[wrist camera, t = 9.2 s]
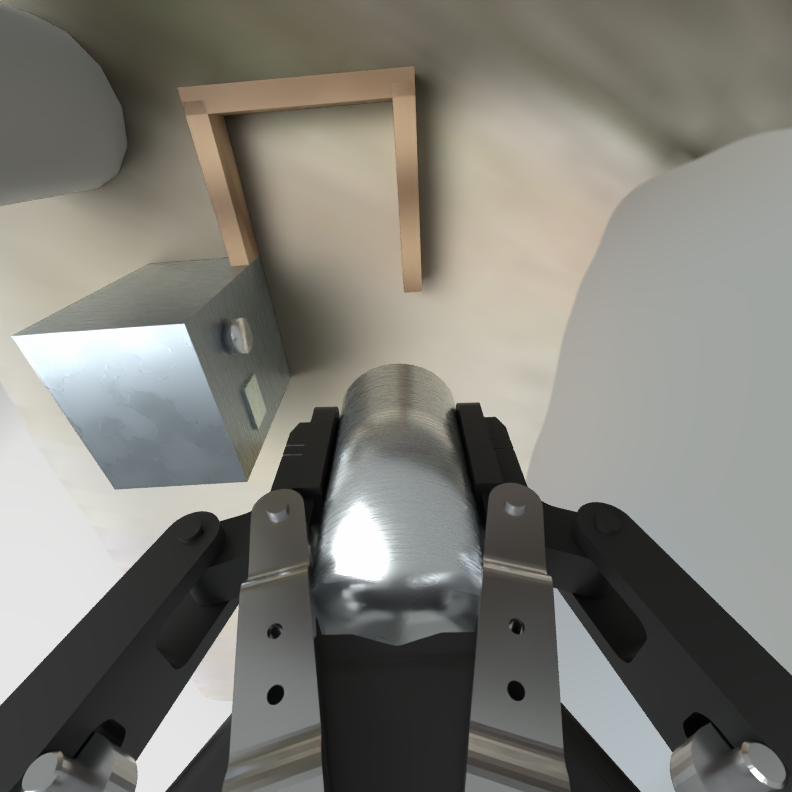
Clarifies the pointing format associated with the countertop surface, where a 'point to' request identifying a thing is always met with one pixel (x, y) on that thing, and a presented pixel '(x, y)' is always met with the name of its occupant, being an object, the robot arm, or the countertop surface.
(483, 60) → the countertop surface
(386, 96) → the frame
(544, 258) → the countertop surface
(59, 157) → the cup
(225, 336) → the block
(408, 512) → the grey cartridge
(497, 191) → the countertop surface
